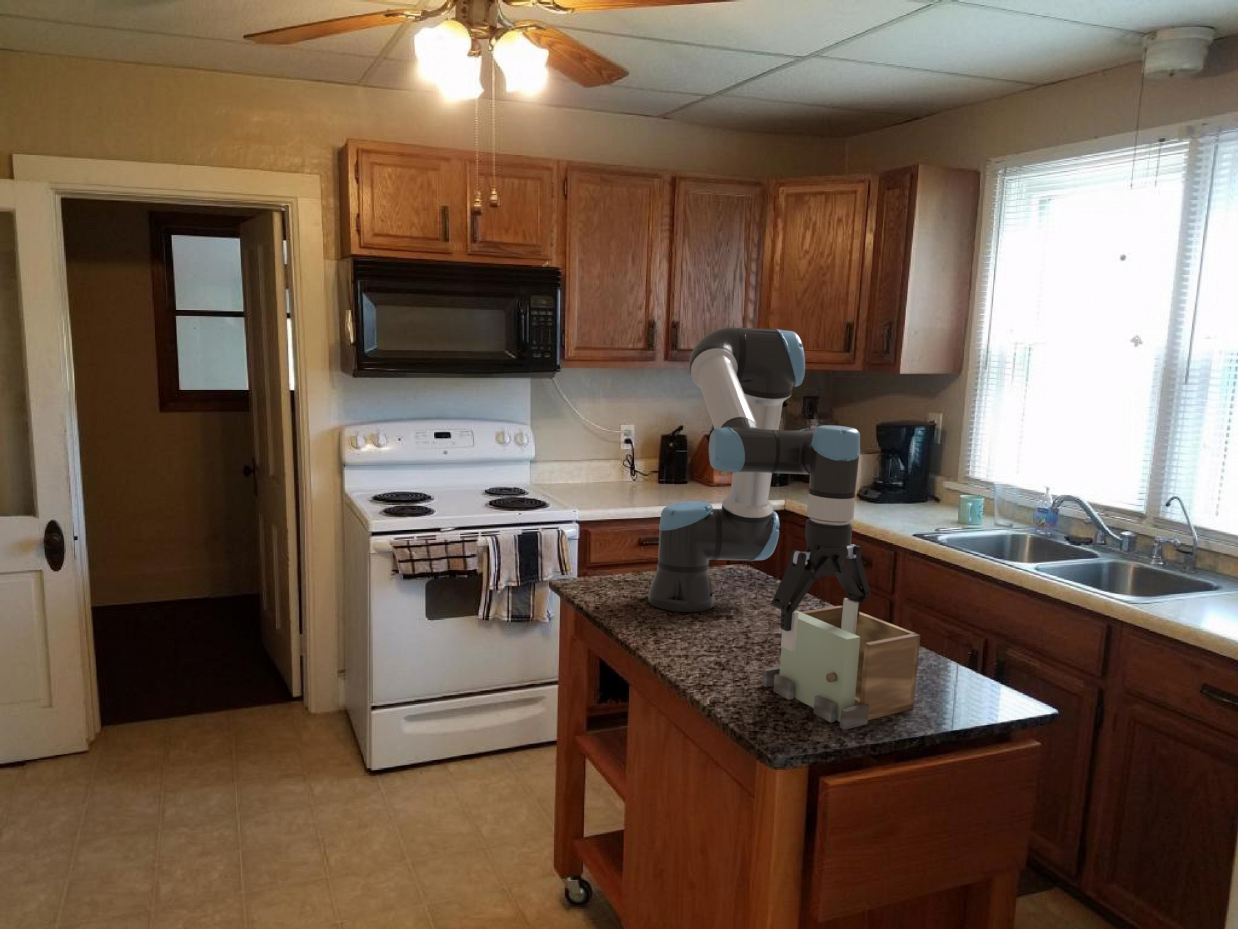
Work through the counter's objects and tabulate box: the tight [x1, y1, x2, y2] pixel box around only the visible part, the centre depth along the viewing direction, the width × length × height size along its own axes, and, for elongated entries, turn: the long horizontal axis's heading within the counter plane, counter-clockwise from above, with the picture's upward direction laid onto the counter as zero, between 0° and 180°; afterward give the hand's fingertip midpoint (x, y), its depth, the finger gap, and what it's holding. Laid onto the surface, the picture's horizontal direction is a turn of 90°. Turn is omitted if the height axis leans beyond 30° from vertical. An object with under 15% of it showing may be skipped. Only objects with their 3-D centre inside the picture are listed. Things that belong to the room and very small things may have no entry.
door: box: [779, 610, 860, 723], centre depth 150 cm, size 15×4×14 cm, turn 31°
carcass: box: [761, 604, 921, 731], centre depth 153 cm, size 20×17×13 cm
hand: (818, 642), depth 150 cm, fingers open, 13 cm apart
